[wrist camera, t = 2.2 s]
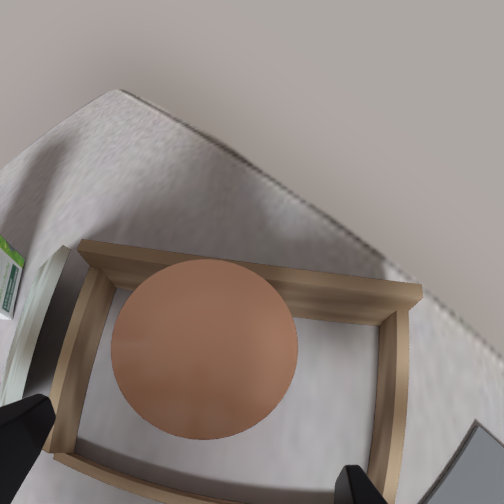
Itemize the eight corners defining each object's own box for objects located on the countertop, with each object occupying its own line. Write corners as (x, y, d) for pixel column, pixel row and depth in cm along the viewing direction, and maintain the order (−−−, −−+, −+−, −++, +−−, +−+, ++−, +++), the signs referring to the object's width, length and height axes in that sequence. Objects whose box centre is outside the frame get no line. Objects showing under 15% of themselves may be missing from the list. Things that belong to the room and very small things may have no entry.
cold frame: (369, 517, 13) (406, 541, 8) (-3, 419, 16) (-53, 407, 11) (388, 317, 20) (424, 281, 16) (45, 263, 23) (9, 225, 18)
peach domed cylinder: (224, 448, 16) (186, 476, 7) (168, 381, 18) (82, 327, 9) (293, 391, 18) (337, 351, 8) (234, 329, 20) (216, 229, 11)
